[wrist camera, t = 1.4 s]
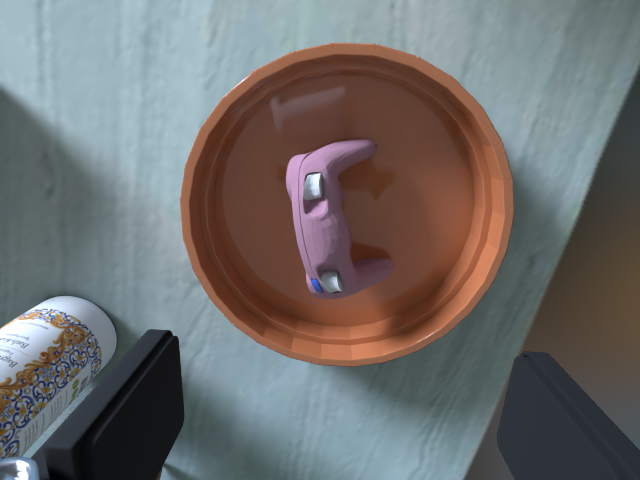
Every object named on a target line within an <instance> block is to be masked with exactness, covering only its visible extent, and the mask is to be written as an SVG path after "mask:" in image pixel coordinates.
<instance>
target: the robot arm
mask: <svg viewBox="0 0 640 480" xmlns="http://www.w3.org/2000/svg"><path fill="white" fill-rule="evenodd" d="M183 422H184V403H183V390H182V377H181V364H180V351H179V340H178V337H177V336H173V334H172V332H171V331H170V330H154V329H150V330H148V331H147V332H146V333H145V334H144V335H143V336H142V337H141V338H140V339H139V340H138V341H137V343H136V344H135V345H134V346H133V347H132V348H131V349H130V350H129V351H128V352H127V354H126V355H125V356H124V357H123V358H122V359H121V360H120V361H119V362H118V363H117V365H116V366H115V367H114V368H113V369H112V370H111V371H110V372H109V373H108V374H107V376H106V377H105V378H104V379H103V380H102V381H100V383H99V384H98V385H97V386H96V387H95V388H94V389H93V390H92V391H91V392H90V394H89V395H88V396H87V397H86V398H85V399H84V400H83V401H82V402H81V403H80V405H79V406H78V407H77V408H76V409H75V410H74V411H73V412H72V413H71V414H70V415H69V417H68V418H67V419H66V420H65V421H64V422H63V423H62V424H61V425H60V426H59V428H58V429H57V430H56V431H55V432H54V433H53V434H52V435H51V436H50V437H49V439H48V440H47V441H46V442H45V443H44V444H43V445H42V446H41V447H40V448H39V449H38V451H37V452H36V453H35V454H34V455H33V456H32V457H31V458H28V457H21V456H16V457H7V458H3V459H0V480H156V478H157V476H158V474H159V472H160V470H161V468H162V466H163V464H164V462H165V460H166V458H167V456H168V454H169V452H170V450H171V448H172V446H173V445H174V443H175V441H176V439H177V437H178V435H179V433H180V431H181V428H182V426H183ZM497 443H498V447H499V450H500V452H501V453H502V456H503V458H504V460H505V461H506V463H507V465H508V467H509V469H510V471H511V473H512V475H513V477H514V479H515V480H640V450H639V449H638V448H637V447H636V446H635V445H634V444H633V443H632V442H631V441H630V440H629V439H628V438H627V436H625V434H624V433H623V432H622V431H621V430H620V429H619V428H618V427H617V426H616V425H615V424H614V423H613V422H612V421H611V420H610V418H609V417H608V416H607V415H606V414H605V413H604V412H603V411H602V410H601V409H600V408H599V407H598V406H597V405H596V403H595V402H594V401H593V400H592V399H591V398H590V397H589V396H588V395H587V394H586V393H585V392H584V391H583V390H582V389H581V388H580V386H579V385H578V384H577V383H576V382H575V381H574V380H573V379H572V378H571V377H570V376H569V375H568V374H567V373H566V372H565V371H564V369H563V368H562V367H561V366H560V365H559V364H558V363H557V362H556V361H555V360H554V359H553V358H552V357H551V356H550V355H549V354H548V353H544V352H527V351H525V352H523V353H522V354H521V356H518V357H516V358H515V360H514V363H513V368H512V372H511V376H510V381H509V385H508V389H507V394H506V398H505V402H504V407H503V412H502V416H501V420H500V425H499V428H498V433H497Z"/></svg>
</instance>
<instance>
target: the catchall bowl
mask: <svg viewBox="0 0 640 480" xmlns="http://www.w3.org/2000/svg"><path fill="white" fill-rule="evenodd" d="M352 139H368V140H372V141H374V142H375V143H376V144H377V150H376V151H375V153H374V154H373V155H372V156H370V157H369V158H368V159H366V160H363V161H361V162H359V163H356V164H354V165H352V166H350V167H348V168H346V169H345V170H343V171H342V172H341V173H340V174H339V176H338V180H339V181H340V182H341V184H342V187H343V191H344V204H343V208H342V210H343V212H344V215H345V217H346V220H347V223H348V227H349V229H350V232H351V236H352V246H351V250H350V257H351V260H352V262H355V261H359V260H364V259H369V258H383V259H389V260H391V261H393V262H394V265H395V269H394V271H393V272H392V274H391V275H390V276H389V277H387V278H386V279H384V280H382V281H380V282H378V283H376V284H374V285H372V286H370V287H368V288H366V289H364V290H362V291H360V292H358V293H356V294H353V295H350V296H347V297H344V298H338V299H321V298H316V297H314V296H313V295H312V294H311V292H310V291H309V288H308V285H307V280H306V270H305V267H304V264H303V261H302V258H301V254H300V250H299V247H298V243H297V238H296V232H295V227H294V220H293V209H292V201H291V199H290V197H289V194H288V191H287V186H286V174H287V167H288V164H289V162H290V160H291V159H292V157H294V156H296V155H301V154H307V153H309V152H312V151H314V150H317V149H319V148H321V147H324V146H326V145H329V144H332V143H335V142H341V141H346V140H352ZM501 141H502V140H501V138H500V137H499V135H498V133H497V131H496V130H495V128H494V126H493V124H492V123H491V121H490V119H489V118H488V116H487V114H486V112H485V111H484V109H483V108H482V106H481V105H480V104H479V103H478V102H477V101H476V100H475V99H474V98H473V97H472V96H471V95H470V94H469V93H468V92H467V91H466V90H465V89H464V88H463V87H462V86H461V85H460V84H459V83H458V82H457V81H456V80H455V79H454V78H453V77H452V76H450V75H448V74H447V73H445V72H443V71H442V70H440V69H438V68H437V67H435V66H433V65H432V64H430V63H428V62H427V61H425V60H423V59H422V58H420V57H417V56H415V55H412V54H409V53H405V52H402V51H398V50H395V49H392V48H388V47H385V46H381V45H376V44H358V43H330V44H325V45H321V46H316V47H312V48H307V49H302V50H298V51H293V53H292V52H291V53H289V54H287V55H285V56H282V57H280V58H278V59H276V60H274V61H272V62H270V63H268V64H266V65H264V66H262V67H260V68H258V69H256V70H255V71H253V72H252V73H251V74H250V75H248V76H247V77H246V78H245V79H244V80H243V81H241V82H240V83H239V84H238V85H237V86H235V87H234V88H233V89H232V90H231V91H230V92H228V93H227V94H226V95H225V96H224V98H222V99H221V101H220V102H219V103H218V105H217V106H216V108H215V109H214V110H213V112H212V113H211V114H210V116H209V117H208V119H207V120H206V121H205V123H204V124H203V126H202V127H201V130H199V133H198V135H197V137H196V140H195V142H194V145H193V147H192V150H191V152H190V155H189V157H188V160H187V162H186V165H185V171H184V177H183V184H182V191H181V197H180V208H181V220H182V233H183V239H184V243H185V246H186V249H187V252H188V255H189V258H190V262H191V265H192V268H193V270H194V272H195V274H196V276H197V277H198V279H199V281H200V283H201V284H202V286H203V288H204V290H205V291H206V293H207V295H208V297H209V298H210V299H211V301H212V302H213V303H214V304H215V305H216V306H217V307H218V309H219V310H220V311H221V312H222V313H223V314H224V315H225V316H226V318H227V319H228V320H229V321H230V322H231V323H233V325H234V326H236V327H237V328H238V329H240V330H241V331H243V332H244V333H245V334H247V335H248V336H249V337H251V338H252V339H253V340H255V341H256V342H257V343H259V344H261V345H263V346H265V347H268V348H270V349H272V350H274V351H276V352H278V353H280V354H283V355H285V356H287V357H288V356H289V357H290V358H294V359H298V360H302V361H306V362H310V363H314V364H318V365H330V366H349V367H352V366H353V367H354V366H361V365H368V364H375V363H383V362H387V361H390V360H393V359H396V358H399V357H402V356H404V355H407V354H410V353H413V352H416V351H418V350H420V349H422V348H423V347H425V346H427V345H429V344H430V343H432V342H434V341H436V340H437V339H439V338H441V337H442V336H444V335H445V334H447V333H448V332H449V331H450V330H451V329H452V328H454V327H455V326H456V325H457V324H458V323H459V322H460V321H462V320H463V319H464V318H465V317H466V316H467V315H468V314H469V313H470V312H471V311H472V310H473V309H474V308H475V306H476V305H477V304H478V302H479V301H480V299H481V298H482V297H483V295H484V294H485V293H486V291H487V290H488V289H489V287H490V286H491V284H492V283H493V281H494V279H495V276H496V274H497V272H498V270H499V268H500V265H501V263H502V261H503V259H504V256H505V254H506V251H507V248H508V243H509V238H510V233H511V228H512V223H513V218H514V198H513V179H512V174H511V170H510V167H509V163H508V160H507V156H506V153H505V149H504V146H503V142H501Z"/></svg>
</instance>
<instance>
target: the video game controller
mask: <svg viewBox="0 0 640 480" xmlns="http://www.w3.org/2000/svg"><path fill="white" fill-rule="evenodd" d="M376 150H377V144H376V143H375V142H374V141H372V140H368V139H352V140H346V141H341V142H335V143H332V144H329V145H326V146H324V147H321V148H319V149H317V150H314V151H312V152H309V153H307V154H301V155H296V156H294V157H292V159H291V160H290V162H289V164H288V167H287V174H286V186H287V191H288V194H289V197H290V199H291V201H292V209H293V220H294V227H295V232H296V238H297V243H298V247H299V250H300V254H301V258H302V261H303V264H304V267H305V270H306V280H307V285H308V288H309V291H310V292H311V294H312V295H313V296H314V297H316V298H321V299H338V298H344V297H347V296H350V295H353V294H356V293H358V292H360V291H362V290H364V289H366V288H368V287H370V286H372V285H374V284H376V283H378V282H380V281H382V280H384V279H386V278H387V277H389V276H390V275H391V274H392V272H393V271H394V269H395V265H394V262H393V261H391V260H389V259H383V258H369V259H364V260H359V261H355V262H352V260H351V257H350V250H351V246H352V236H351V232H350V229H349V227H348V223H347V220H346V217H345V215H344V212H343V210H342V208H343V204H344V191H343V187H342V184H341V182H340V181H339V180H338V176H339V174H340V173H341V172H342V171H343V170H345V169H346V168H348V167H350V166H352V165H354V164H356V163H359V162H361V161H363V160H366V159H368V158H369V157H370V156H372V155H373V154H374V153H375V151H376Z"/></svg>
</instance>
